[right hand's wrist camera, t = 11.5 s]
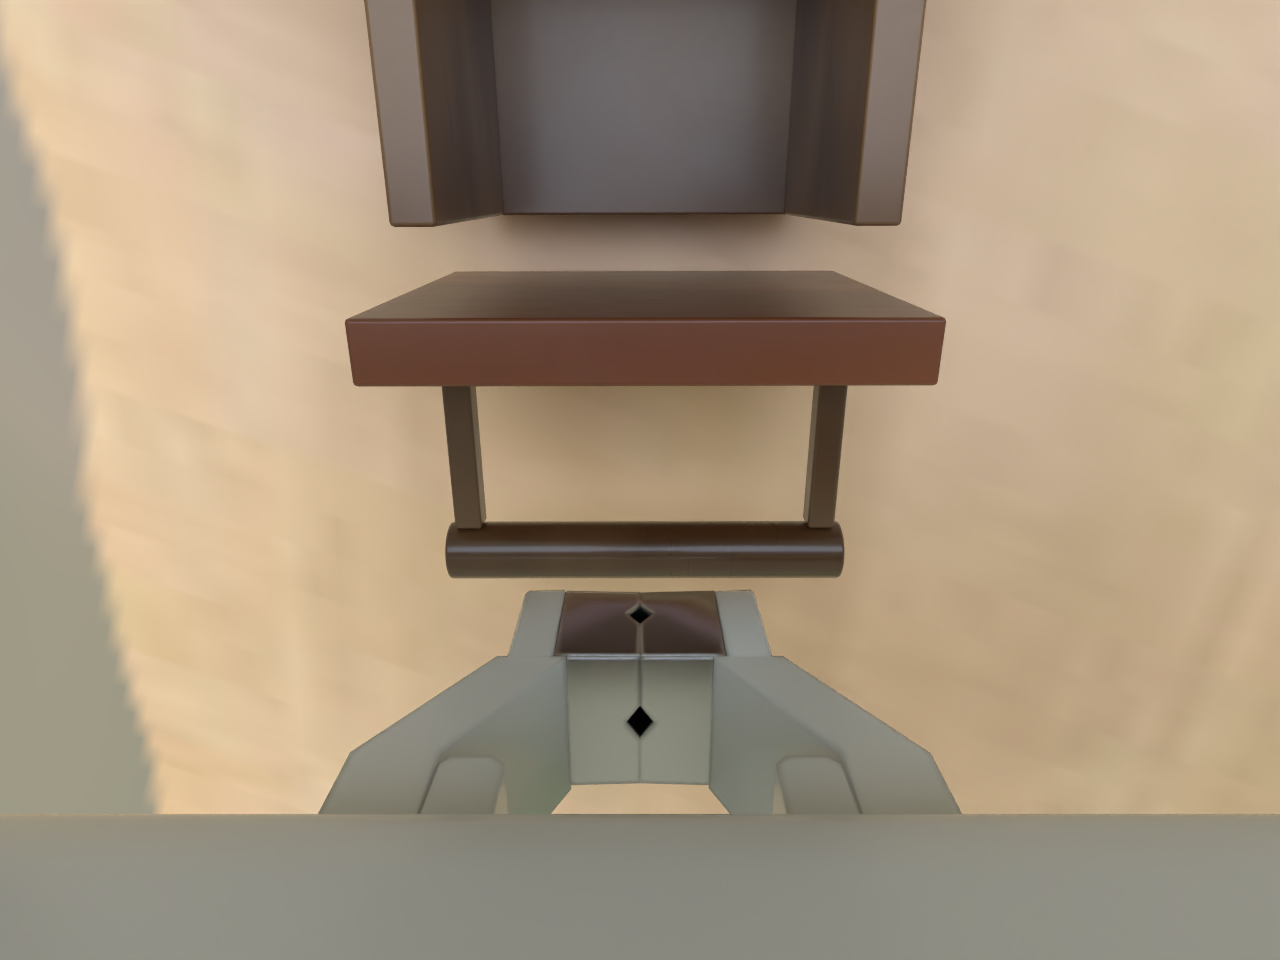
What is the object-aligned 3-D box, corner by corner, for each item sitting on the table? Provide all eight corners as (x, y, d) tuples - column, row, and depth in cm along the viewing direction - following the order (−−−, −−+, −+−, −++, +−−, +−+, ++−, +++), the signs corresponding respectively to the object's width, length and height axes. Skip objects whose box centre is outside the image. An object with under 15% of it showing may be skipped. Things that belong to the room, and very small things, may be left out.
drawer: (815, 487, 23) (902, 637, 15) (472, 488, 23) (387, 637, 15) (915, -668, 14) (1224, -1640, 7) (371, -665, 14) (67, -1628, 7)
